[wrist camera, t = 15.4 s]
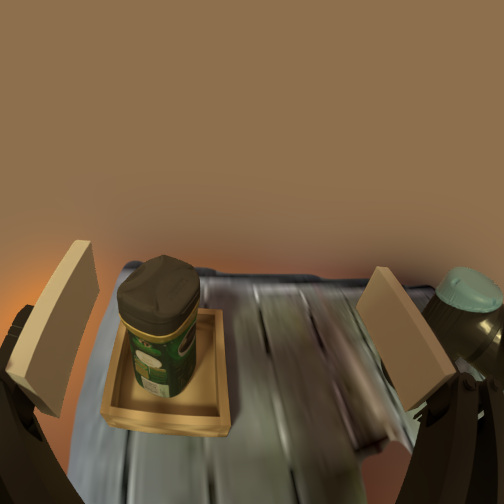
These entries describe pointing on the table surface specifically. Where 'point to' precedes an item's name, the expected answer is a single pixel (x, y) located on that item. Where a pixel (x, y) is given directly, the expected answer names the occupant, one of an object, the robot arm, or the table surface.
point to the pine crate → (184, 404)
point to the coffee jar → (161, 323)
